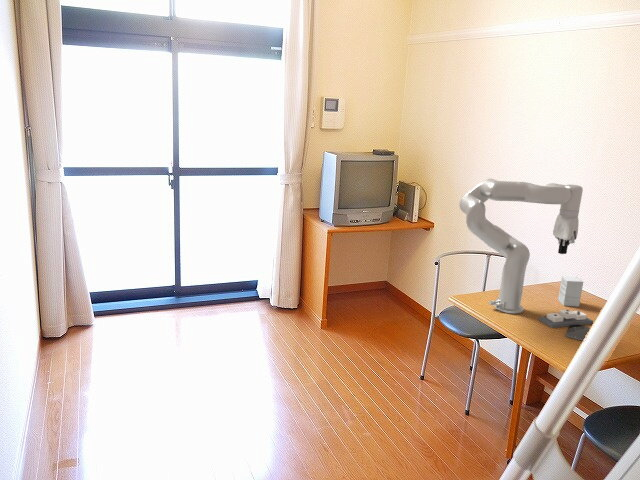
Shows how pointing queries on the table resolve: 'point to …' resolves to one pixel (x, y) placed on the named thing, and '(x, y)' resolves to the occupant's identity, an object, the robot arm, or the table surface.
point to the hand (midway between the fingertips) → (562, 253)
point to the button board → (565, 322)
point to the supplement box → (570, 291)
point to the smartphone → (577, 332)
